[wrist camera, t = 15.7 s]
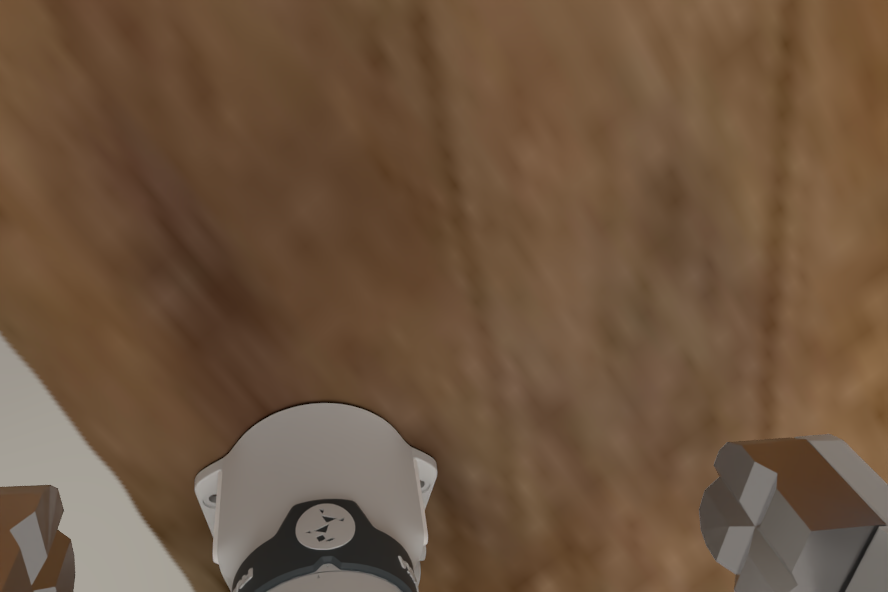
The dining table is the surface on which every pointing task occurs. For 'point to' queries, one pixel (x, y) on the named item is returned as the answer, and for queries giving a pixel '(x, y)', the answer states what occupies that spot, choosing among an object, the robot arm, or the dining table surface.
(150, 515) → the dining table surface
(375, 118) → the dining table surface
